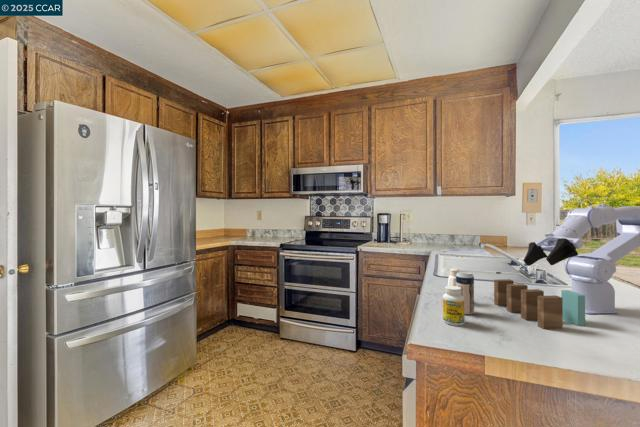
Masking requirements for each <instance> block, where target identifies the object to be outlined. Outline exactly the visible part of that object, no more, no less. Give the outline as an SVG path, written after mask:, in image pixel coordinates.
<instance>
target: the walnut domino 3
mask: <svg viewBox="0 0 640 427" xmlns="http://www.w3.org/2000/svg"><path fill="white" fill-rule="evenodd" d="M544 293H545V291H544V290H541V289H540V288H536V289H533V288H532V289H530V288H529V289H528V290H521V313H520V318H521V319H523V320H525V321H538V296H545V294H544Z"/></svg>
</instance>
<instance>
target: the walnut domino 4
mask: <svg viewBox="0 0 640 427" xmlns="http://www.w3.org/2000/svg"><path fill="white" fill-rule="evenodd" d="M563 321H564V320H563V298H562V297H561V296H558V295H555V294H554V295H544V296H538V320H537V327H539V328H540V329H542V330H563V324H564V323H563Z"/></svg>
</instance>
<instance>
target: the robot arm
mask: <svg viewBox="0 0 640 427" xmlns="http://www.w3.org/2000/svg"><path fill="white" fill-rule="evenodd" d="M614 222H615V224H616V233H618V234H619V235H617V236H616V237H614V238H613V239H611V240H609V241H608V242H605V243H604V244H602V245H601V246H600V247H598V248H596V249H595V250H594V251H592V252H587V253H578V251H577V249H582V248H583V247H584V246H585V243H584V242H583V241H582V239H581V238H582V237H584V235H585V234H587V232H588V231H589V230H591V229H594V228H596V229H597V228H598V229H599V228H601V227H602V226H604V225H610V224H613V223H614ZM544 236H545V237H544V238H543V239H541V240H540V241H538V242H535V241H533V242H529V243H528V249H527V252H526V255H525V257H524V258H523V259H522V260H523V262H524V263H525V264H526V266H528V267H529V266H532V265H533V264H535V263H536V262H538V261H540V260H541V259H544V258H545V260H546V261H547V263H548V264H549V265H550V266H554V265H556V264H558V263H560V262H562V261H564V260H565V261H564V264H563V267H564V271H565V273H566V274H567V275H568V278H569V279H571V291H573V292H576V293H579V294H583V295H585V314H587V315H590V314H594V315H596V314H599V315H600V314H618V313H619V312H618V310H616V306H615V305H616V304H615V303H616V302H615V301H616V298H615V297H616V291H615V287H614V286H613V285H612V284H611V283H610V279H612V277H613V275H614V274H615V273H616V272H617V267H616V263H617V262H618V261H620V260H621V259H623V258H624V257H625V256H627V255H630V253H632V252H633V251H634V250H637V249H638V248H639V247H640V205H639V206H636V205H635V206H632V205H631V206H624V205H623V206H619V207H612V206H609V205H607V204H606V203H605V204H604V203H601V204H597V206H594V205H589V206H587V207H586V208H583V207H582V208H574V209H569V210H568V212H567V215H566V218H565V219H564V221H563V223H561V224H560V225H559V226H558V227H557V228H556V229H555V230H553V232H546V233H544ZM546 252H549V254H548V255H547V253H546Z"/></svg>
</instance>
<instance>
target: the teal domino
mask: <svg viewBox="0 0 640 427" xmlns="http://www.w3.org/2000/svg"><path fill="white" fill-rule="evenodd" d="M560 292H561V295H560V297H562V298H563V321H566V322H568V323H571V324H573V325H575V326H576V327H580V326H582V327H583V326H586V313H585V295H583V294H579V293H576V292H573V291H572V290H568V289H563V290H560Z"/></svg>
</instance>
